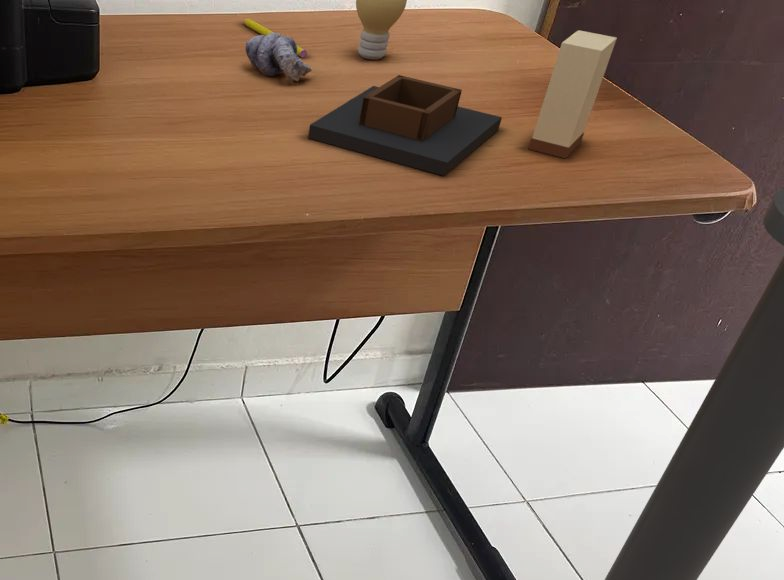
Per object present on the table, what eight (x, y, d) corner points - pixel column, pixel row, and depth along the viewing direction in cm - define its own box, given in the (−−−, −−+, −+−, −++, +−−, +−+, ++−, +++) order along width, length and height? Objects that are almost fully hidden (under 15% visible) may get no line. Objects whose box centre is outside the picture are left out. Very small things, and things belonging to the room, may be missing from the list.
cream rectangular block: (580, 142, 100) (617, 37, 93) (565, 158, 97) (602, 50, 89) (544, 133, 102) (577, 29, 94) (527, 149, 99) (561, 42, 91)
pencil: (306, 57, 120) (307, 49, 120) (299, 58, 120) (301, 50, 119) (245, 23, 131) (246, 15, 131) (240, 23, 131) (240, 16, 130)
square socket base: (498, 130, 102) (510, 89, 99) (443, 176, 93) (454, 133, 90) (371, 98, 109) (378, 59, 106) (307, 138, 100) (313, 96, 97)
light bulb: (363, 66, 118) (378, -18, 111) (338, 51, 122) (351, -31, 115) (404, 61, 120) (421, -22, 113) (378, 47, 124) (393, -34, 117)
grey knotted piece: (306, 93, 114) (245, 75, 119) (326, 52, 112) (264, 36, 118) (288, 73, 109) (226, 56, 114) (308, 30, 108) (245, 15, 113)
